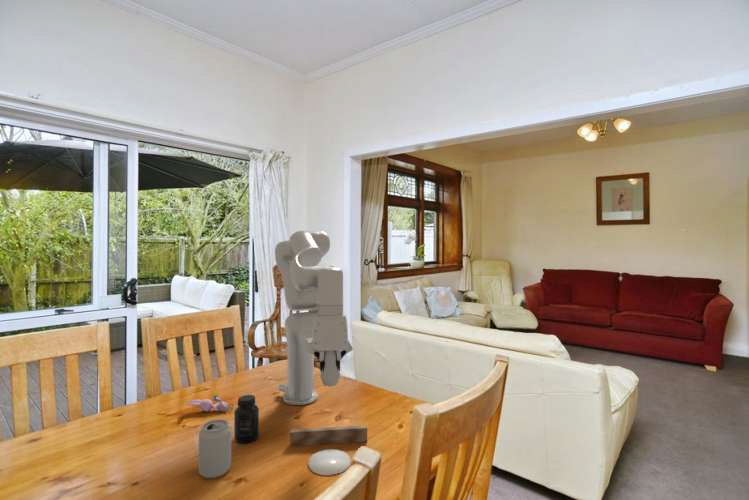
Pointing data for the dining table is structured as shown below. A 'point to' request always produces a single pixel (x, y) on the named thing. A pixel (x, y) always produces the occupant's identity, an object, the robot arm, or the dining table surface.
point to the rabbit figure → (211, 404)
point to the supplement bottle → (246, 420)
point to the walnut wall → (328, 435)
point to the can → (214, 448)
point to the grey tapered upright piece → (330, 369)
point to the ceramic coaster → (329, 462)
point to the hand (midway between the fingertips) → (330, 372)
